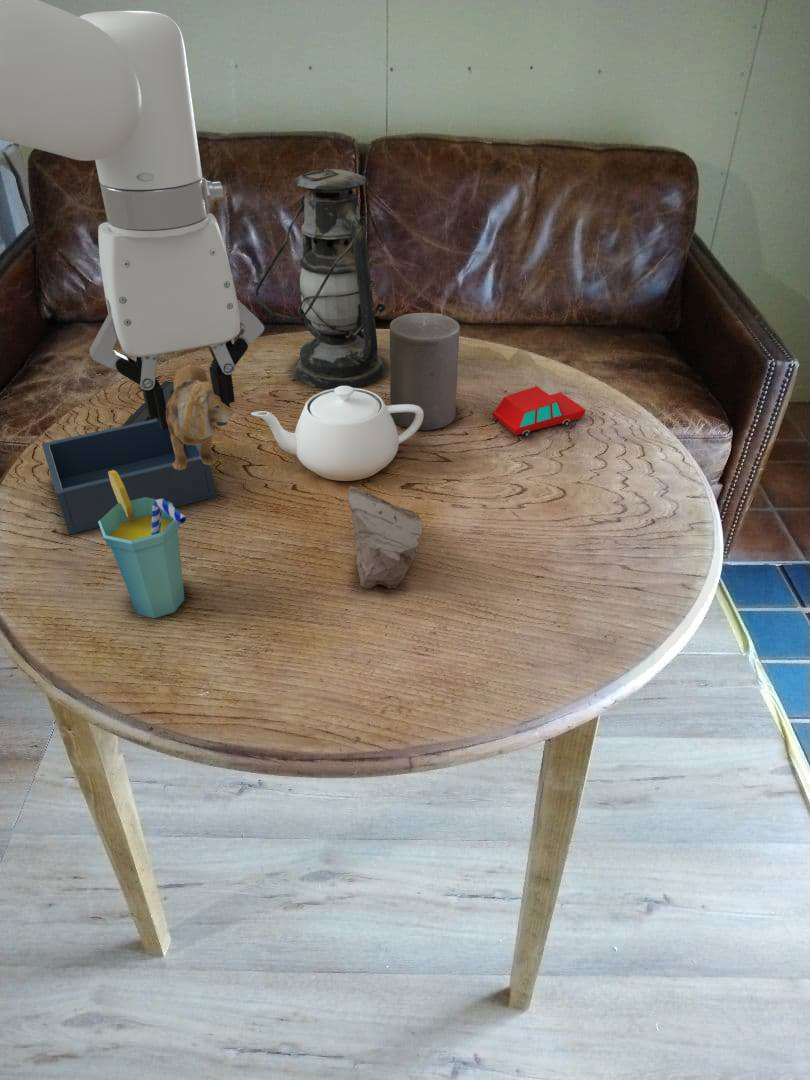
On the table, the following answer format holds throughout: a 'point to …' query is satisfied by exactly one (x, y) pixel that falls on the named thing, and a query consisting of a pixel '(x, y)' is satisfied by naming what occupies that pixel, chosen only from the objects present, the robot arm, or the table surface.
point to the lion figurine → (194, 414)
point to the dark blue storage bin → (122, 471)
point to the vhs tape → (141, 412)
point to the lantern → (334, 284)
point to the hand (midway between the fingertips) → (192, 415)
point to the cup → (146, 549)
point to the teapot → (344, 433)
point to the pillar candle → (424, 368)
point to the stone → (382, 538)
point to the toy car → (536, 410)
